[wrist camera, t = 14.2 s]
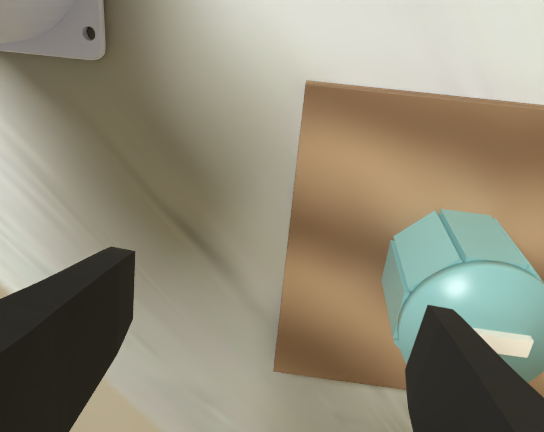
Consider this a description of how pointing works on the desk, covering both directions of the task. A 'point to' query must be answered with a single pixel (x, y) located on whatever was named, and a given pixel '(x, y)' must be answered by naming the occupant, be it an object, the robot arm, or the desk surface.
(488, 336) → the cap
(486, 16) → the desk surface
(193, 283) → the desk surface
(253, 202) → the desk surface
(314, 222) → the post fixture
